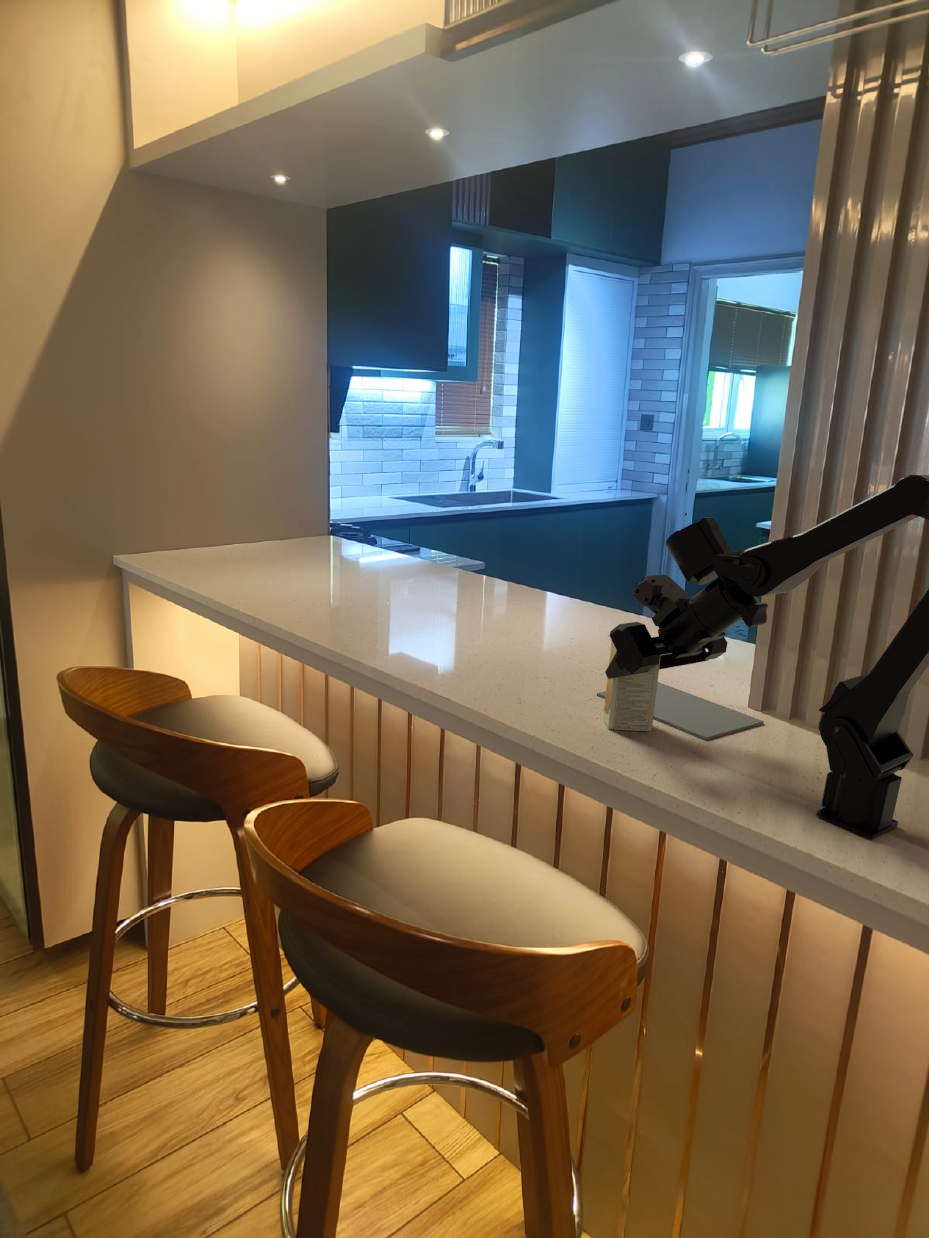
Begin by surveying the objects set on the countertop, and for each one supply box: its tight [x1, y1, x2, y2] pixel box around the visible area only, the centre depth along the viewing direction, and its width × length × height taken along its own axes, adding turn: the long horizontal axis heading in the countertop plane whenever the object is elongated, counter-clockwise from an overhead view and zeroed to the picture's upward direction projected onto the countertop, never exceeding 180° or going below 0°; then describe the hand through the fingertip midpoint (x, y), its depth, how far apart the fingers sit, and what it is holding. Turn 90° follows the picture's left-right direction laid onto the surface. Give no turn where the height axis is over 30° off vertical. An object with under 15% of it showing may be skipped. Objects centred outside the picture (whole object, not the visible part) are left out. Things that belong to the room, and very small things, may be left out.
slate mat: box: [596, 681, 765, 741], centre depth 130 cm, size 20×14×1 cm
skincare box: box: [602, 640, 661, 732], centre depth 120 cm, size 6×4×12 cm
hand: (629, 671), depth 120 cm, fingers open, 9 cm apart
